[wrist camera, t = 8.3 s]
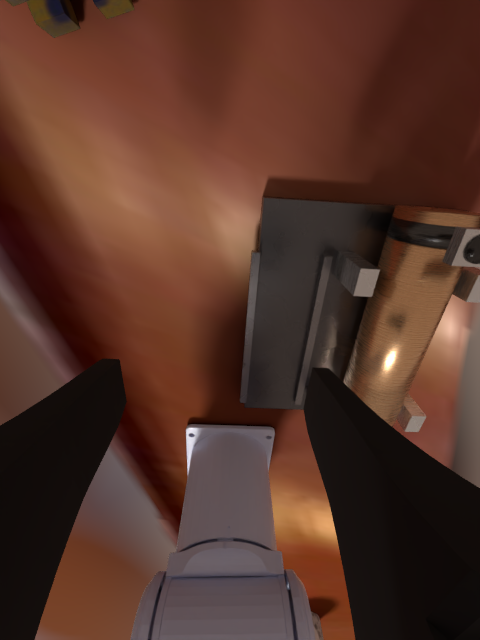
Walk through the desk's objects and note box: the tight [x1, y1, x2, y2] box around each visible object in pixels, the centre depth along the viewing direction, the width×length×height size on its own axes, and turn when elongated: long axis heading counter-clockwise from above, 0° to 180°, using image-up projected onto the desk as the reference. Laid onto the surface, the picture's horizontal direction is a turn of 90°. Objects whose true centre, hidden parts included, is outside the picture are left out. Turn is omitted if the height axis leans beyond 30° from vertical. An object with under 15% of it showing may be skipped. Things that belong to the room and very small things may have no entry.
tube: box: [343, 205, 480, 427], centre depth 18 cm, size 14×4×4 cm, turn 176°
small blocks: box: [333, 251, 480, 432], centre depth 19 cm, size 12×7×4 cm, turn 177°
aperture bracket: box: [442, 226, 480, 267], centre depth 14 cm, size 2×4×6 cm, turn 86°
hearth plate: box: [240, 196, 469, 410], centre depth 20 cm, size 16×12×2 cm
